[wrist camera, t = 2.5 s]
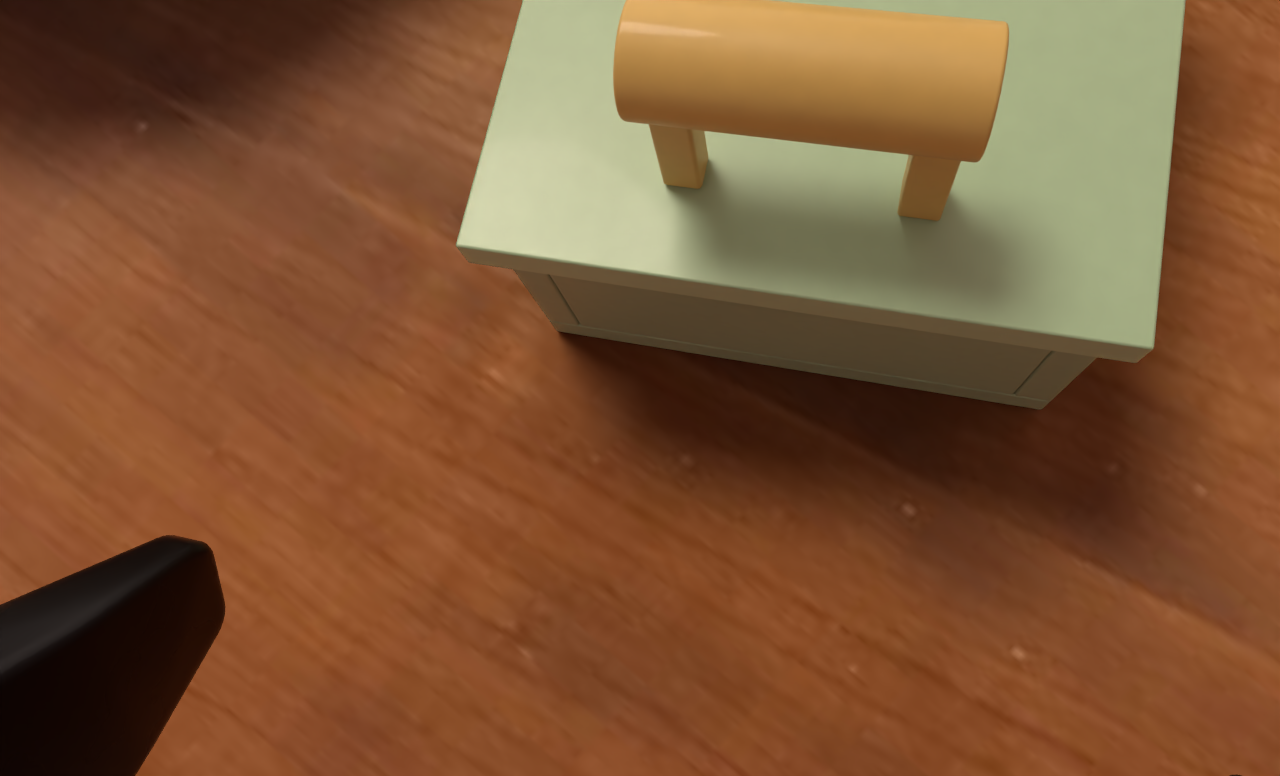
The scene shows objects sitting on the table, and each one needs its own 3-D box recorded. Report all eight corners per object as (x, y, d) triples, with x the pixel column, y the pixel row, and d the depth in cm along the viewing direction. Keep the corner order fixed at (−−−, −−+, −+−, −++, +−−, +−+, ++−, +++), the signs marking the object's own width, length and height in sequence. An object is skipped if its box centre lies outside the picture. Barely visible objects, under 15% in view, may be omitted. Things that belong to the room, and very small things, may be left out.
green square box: (1042, 410, 22) (1139, 319, 16) (556, 331, 24) (479, 225, 18) (1093, -26, 25) (1194, -246, 19) (651, -61, 27) (612, -268, 21)
